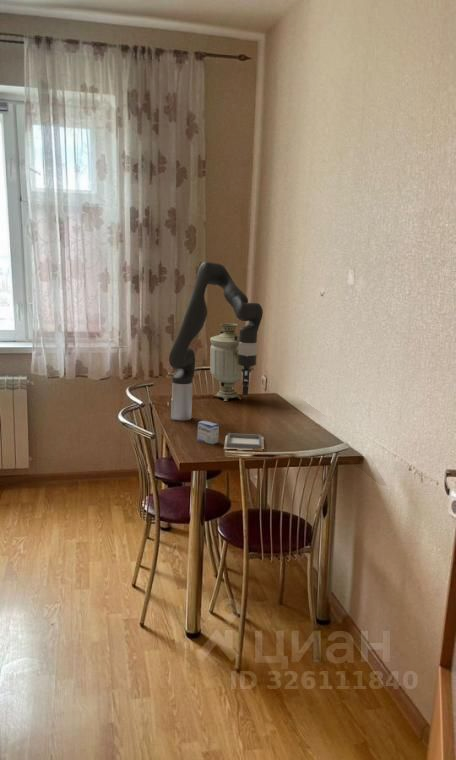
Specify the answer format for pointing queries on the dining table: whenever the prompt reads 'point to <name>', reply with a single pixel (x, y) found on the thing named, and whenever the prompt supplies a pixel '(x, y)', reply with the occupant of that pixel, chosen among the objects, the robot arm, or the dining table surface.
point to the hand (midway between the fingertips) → (245, 392)
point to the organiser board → (243, 441)
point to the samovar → (226, 360)
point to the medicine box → (208, 432)
